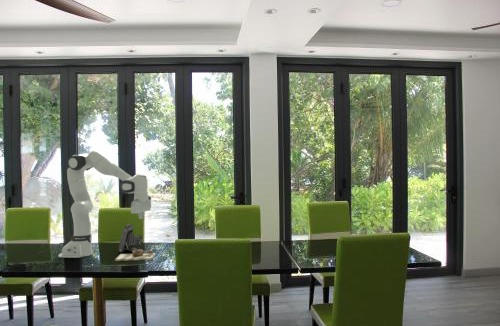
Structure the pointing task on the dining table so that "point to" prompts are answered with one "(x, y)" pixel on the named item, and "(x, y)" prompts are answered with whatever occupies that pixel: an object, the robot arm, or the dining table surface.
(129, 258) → the board
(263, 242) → the dining table surface
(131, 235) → the camera
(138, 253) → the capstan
